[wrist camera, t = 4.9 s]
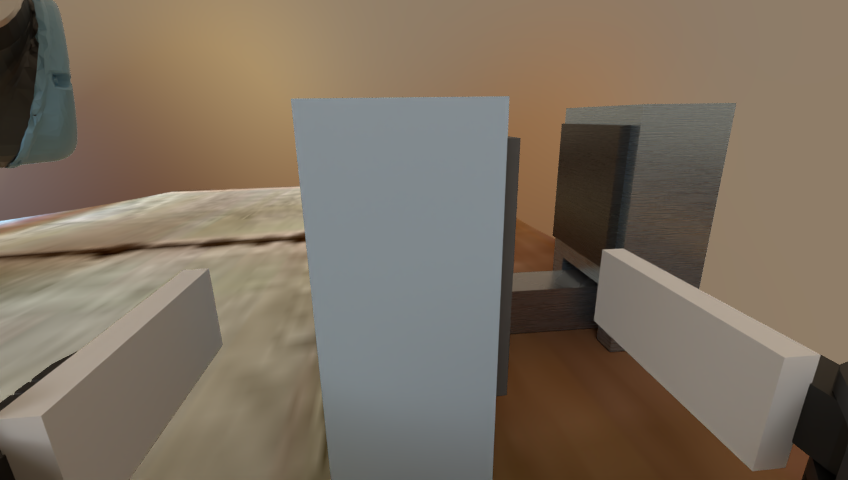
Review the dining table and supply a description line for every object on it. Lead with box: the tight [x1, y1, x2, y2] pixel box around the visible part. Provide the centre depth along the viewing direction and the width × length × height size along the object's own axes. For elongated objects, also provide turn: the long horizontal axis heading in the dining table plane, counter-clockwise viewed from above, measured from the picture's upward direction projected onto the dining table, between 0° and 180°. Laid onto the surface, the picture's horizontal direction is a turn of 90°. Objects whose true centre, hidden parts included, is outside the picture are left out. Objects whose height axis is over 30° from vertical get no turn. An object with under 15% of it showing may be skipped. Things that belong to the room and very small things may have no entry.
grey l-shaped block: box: [510, 103, 736, 352], centre depth 25 cm, size 22×9×14 cm, turn 96°
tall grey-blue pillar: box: [291, 96, 520, 480], centre depth 15 cm, size 9×6×14 cm, turn 6°
